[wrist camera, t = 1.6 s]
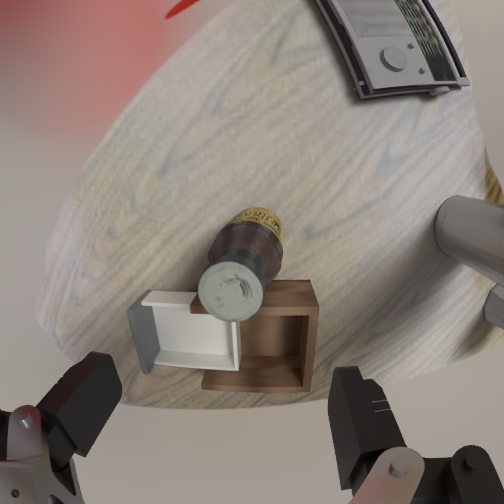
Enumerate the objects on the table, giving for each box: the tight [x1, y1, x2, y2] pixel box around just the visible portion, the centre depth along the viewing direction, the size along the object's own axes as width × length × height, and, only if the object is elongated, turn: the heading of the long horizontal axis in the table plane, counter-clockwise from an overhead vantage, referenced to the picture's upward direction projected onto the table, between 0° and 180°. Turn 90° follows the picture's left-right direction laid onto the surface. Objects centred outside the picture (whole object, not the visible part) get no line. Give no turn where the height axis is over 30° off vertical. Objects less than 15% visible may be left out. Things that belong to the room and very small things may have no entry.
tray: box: [127, 290, 241, 374], centre depth 35 cm, size 13×10×6 cm
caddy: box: [190, 280, 319, 393], centre depth 35 cm, size 14×13×8 cm
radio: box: [315, 0, 471, 100], centre depth 24 cm, size 24×5×20 cm
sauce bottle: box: [198, 207, 283, 322], centre depth 26 cm, size 6×6×20 cm
